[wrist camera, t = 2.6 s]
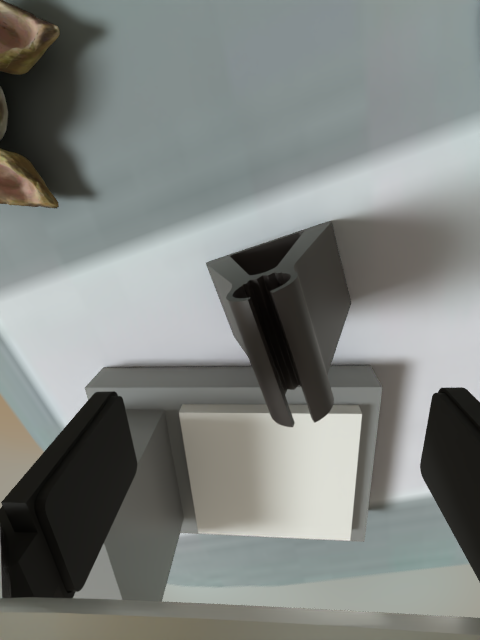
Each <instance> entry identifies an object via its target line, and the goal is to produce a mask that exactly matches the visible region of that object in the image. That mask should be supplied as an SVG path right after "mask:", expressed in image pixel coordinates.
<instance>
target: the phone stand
mask: <svg viewBox="0 0 480 640" xmlns="http://www.w3.org/2000/svg"><path fill="white" fill-rule="evenodd" d="M206 265H207V268H208V270H209V273H210V275H211V278H212V281H213V283H214V286H215V288H216V291H217V294H218V296H219V299H220V301H221V304H222V306H223V309H224V312H225V314H226V317H227V319H228V322H229V325H230V327H231V330H232V332H233V335H234V337H235V338H236V340H237V341H238V343H239V344H240V346H241V347H242V349H243V350H244V351H245V353H246V354H247V356H248V357H249V360H250V362H251V365H252V368H253V370H254V373H255V376H256V378H257V381H258V383H259V386H260V389H261V391H262V394H263V397H264V399H265V402H266V405H267V407H268V410H269V413H270V415H271V417H272V419H273V420H274V421H275V422H276V423H278V424H280V425H282V426H286V427H293V426H294V423H295V422H294V419H293V417H292V414H291V411H290V408H289V405H288V402H287V399H286V397H285V394H286V392H287V389H289V390H295V389H296V388H297V386H298V385H299V386H301V388H302V391H303V394H304V397H305V400H306V403H307V406H308V409H309V412H310V415H311V418H312V420H313V421H314V423H315V422H317V421H319V420H321V419H322V418H324V417H325V416H326V415H327V414H328V413H329V412H330V410H331V409H332V407H333V404H334V397H333V393H332V390H331V387H330V383H329V380H328V376H327V375H328V371H329V368H330V365H331V362H332V359H333V356H334V353H335V350H336V347H337V344H338V341H339V338H340V335H341V332H342V329H343V326H344V323H345V320H346V317H347V314H348V311H349V308H350V305H351V301H350V297H349V293H348V288H347V284H346V280H345V276H344V272H343V268H342V263H341V259H340V255H339V251H338V247H337V243H336V239H335V234H334V230H333V226H332V222H331V221H329V222H325V223H322V224H319V225H316V226H313V227H310V228H307V229H304V230H301V231H298V232H295V233H292V234H289V235H286V236H283V237H281V238H278V239H275V240H272V241H269V242H267V243H263V244H260V245H257V246H254V247H251V248H248V249H245V250H242V251H239V252H236V253H233V254H230V255H227V256H224V257H221V258H218V259H215V260H212V261H209V262H207V263H206Z"/></svg>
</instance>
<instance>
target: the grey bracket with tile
mask: <svg viewBox="0 0 480 640" xmlns="http://www.w3.org/2000/svg"><path fill="white" fill-rule="evenodd" d="M327 376H328V380H329V383H330V387H331V390H332V393H333V397H334V404H333V407H332V409H331V410H330V412H329V413H328V414H327V415H326V416H325V417H324V418H322V419H321V420H319V421H317V422H315V423H314V421H313V420H312V418H311V415H310V412H309V409H308V406H307V403H306V400H305V397H304V394H303V391H302V388H301V386H299V385H298V386H297V388H296V389H295V390H289V389H287V392H286V394H285V397H286V399H287V402H288V405H289V408H290V411H291V414H292V417H293V419H294V422H295V423H294V426H293V427H286V426H282V425H280V424H278V423H276V422H275V421H274V420H273V419H272V417H271V415H270V413H269V410H268V407H267V405H266V402H265V399H264V397H263V394H262V391H261V389H260V386H259V383H258V381H257V378H256V376H255V373H254V370H253V368H252V366H246V367H127V368H103V369H102V370H101V371H100V372H99V373H98V374H97V375H96V376H95V377H94V378H93V379H92V380H91V382H90V383H89V384H88V385H87V386H86V387H85V390H86V394H87V397H88V400H89V399H90V398H91V397H92V395H93V394H94V393H95V392H110V391H114V392H116V393H117V394H118V396H121V397H122V398H123V401H124V405H125V410H126V414H127V419H128V423H129V428H130V432H131V436H132V441H133V445H134V450H135V454H136V459H137V471H136V474H135V477H134V479H133V481H132V483H131V485H130V488H129V490H128V492H127V494H126V496H125V498H124V500H123V503H122V505H121V507H120V509H119V511H118V513H117V516H116V518H115V520H114V522H113V524H112V526H111V529H110V531H109V533H108V535H107V537H106V539H105V542H104V544H103V546H102V548H101V550H100V552H99V555H98V557H97V559H96V561H95V563H94V565H93V567H92V570H91V572H90V574H89V576H88V578H87V580H86V583H85V585H84V586H83V588H82V589H81V590H80V591H79V592H75V594H74V596H73V598H83V599H112V600H135V601H158V602H162V599H163V595H164V591H165V587H166V584H167V580H168V576H169V572H170V569H171V565H172V561H173V557H174V554H175V550H176V546H177V542H178V539H179V535H180V533H194V534H214V535H235V536H256V537H277V538H298V539H318V540H339V541H360V542H364V540H365V532H366V523H367V515H368V506H369V497H370V489H371V480H372V472H373V463H374V455H375V446H376V438H377V429H378V420H379V412H380V403H381V395H382V386H381V384H380V382H379V380H378V378H377V376H376V375H375V373H374V371H373V369H372V367H371V365H366V366H330V368H329V371H328V375H327Z"/></svg>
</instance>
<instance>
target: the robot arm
mask: <svg viewBox="0 0 480 640" xmlns="http://www.w3.org/2000/svg"><path fill="white" fill-rule="evenodd" d="M420 469H421V474H422V477H423V479H424V481H425V483H426V484H427V486H428V488H429V490H430V492H431V494H432V495H433V497H434V499H435V501H436V503H437V505H438V506H439V508H440V510H441V512H442V514H443V516H444V517H445V519H446V521H447V523H448V525H449V527H450V528H451V530H452V532H453V534H454V536H455V538H456V539H457V541H458V543H459V545H460V547H461V548H462V550H463V552H464V554H465V556H466V558H467V559H468V561H469V563H470V565H471V567H472V568H473V570H474V572H475V574H476V576H477V578H478V580H479V581H480V402H479V401H478V400H477V399H476V398H475V397H474V396H473V395H472V394H471V393H470V392H469V391H468V390H466V389H465V388H441V389H440V390H439V391H438V393H434V394H433V396H432V401H431V407H430V412H429V418H428V424H427V429H426V435H425V441H424V447H423V452H422V458H421V464H420ZM136 471H137V459H136V454H135V450H134V445H133V441H132V436H131V432H130V428H129V423H128V419H127V414H126V410H125V405H124V401H123V398H122V397H121V396H118V394H117V393H116V392H114V391H110V392H95V393H94V394H93V395H92V397H91V398H90V399H89V400H88V401H87V402H86V404H85V405H84V406H83V407H82V408H81V409H80V411H79V412H78V413H77V414H76V415H75V417H74V418H73V419H72V420H71V421H70V422H69V424H68V425H67V426H66V427H65V428H64V429H63V431H62V432H61V433H60V434H59V435H58V436H57V438H56V439H55V440H54V441H53V442H52V444H51V445H50V446H49V447H48V448H47V449H46V451H45V452H44V453H43V454H42V455H41V456H40V458H39V459H38V460H37V461H36V463H34V465H33V466H32V467H31V468H30V469H29V471H28V472H27V473H26V474H25V475H24V476H23V478H22V479H21V480H20V481H19V482H18V483H17V485H16V486H15V487H14V488H13V489H12V490H11V492H10V493H9V494H8V495H7V496H6V497H5V499H4V500H3V501H2V502H1V503H2V505H3V506H2V507H1V509H0V640H480V618H471V617H452V616H434V615H417V614H399V613H381V612H363V611H345V610H344V611H343V610H324V609H305V608H286V607H285V608H284V607H266V606H245V605H225V604H204V603H181V602H179V603H178V602H158V601H135V600H112V599H83V598H73V596H74V594H75V592H79V591H80V590H81V589H82V588H83V586H84V585H85V583H86V580H87V578H88V576H89V574H90V572H91V570H92V567H93V565H94V563H95V561H96V559H97V557H98V555H99V552H100V550H101V548H102V546H103V544H104V542H105V539H106V537H107V535H108V533H109V531H110V529H111V526H112V524H113V522H114V520H115V518H116V516H117V513H118V511H119V509H120V507H121V505H122V503H123V500H124V498H125V496H126V494H127V492H128V490H129V488H130V485H131V483H132V481H133V479H134V477H135V474H136Z"/></svg>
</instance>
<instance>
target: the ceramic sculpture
mask: <svg viewBox="0 0 480 640" xmlns="http://www.w3.org/2000/svg"><path fill="white" fill-rule="evenodd" d="M59 34H60V30H59V28H58V26H56V25H54V24H51V23H49V22H47V21H45V20H42V19H39V18H37V17H35V16H34V15H33V14H31V13H29V12H27V11H24V10H22V9H20V8H18V7H16V6H14V5H12V4H9V3H7V2H5V1H3V0H0V71H3V72H6V73H10V74H15V75H22V74H24V73H27V72H28V71H29V70H30V69H31V68H32V67H33V66H34V65H35V64H36V62H37V61H38V60H39V59H40V58H41V57H42V56H43V54H44V53H45V51H46V50H47V48H48V47H49V46H50V45H51V44H52V43H53V42H55V40H56V39H57V38H58V37H59ZM7 119H8V109H7V104H6V100H5V95H4V93H3V90H2V88H1V86H0V141H1V139H2V138H3V136H4V134H5V132H6V128H7ZM0 204H9V205H20V206H32V207H38V206H42V207H48V208H57V207H59V206H58V201H57V200H56V198H55V197H54V196H53V194H52V193H51V192H50V190H49V189H48V188H47V186H46V184H45V182H44V181H43V179H42V178H41V176H40V175H39V174H38V172H37V171H36V169H35V168H34V166H33V165H32V164H31V162H30V161H29V160H28V159H26V158H25V157H24V156H22V155H20V154H17V153H15V152H10V151H6V150H3V149H1V148H0Z"/></svg>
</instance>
